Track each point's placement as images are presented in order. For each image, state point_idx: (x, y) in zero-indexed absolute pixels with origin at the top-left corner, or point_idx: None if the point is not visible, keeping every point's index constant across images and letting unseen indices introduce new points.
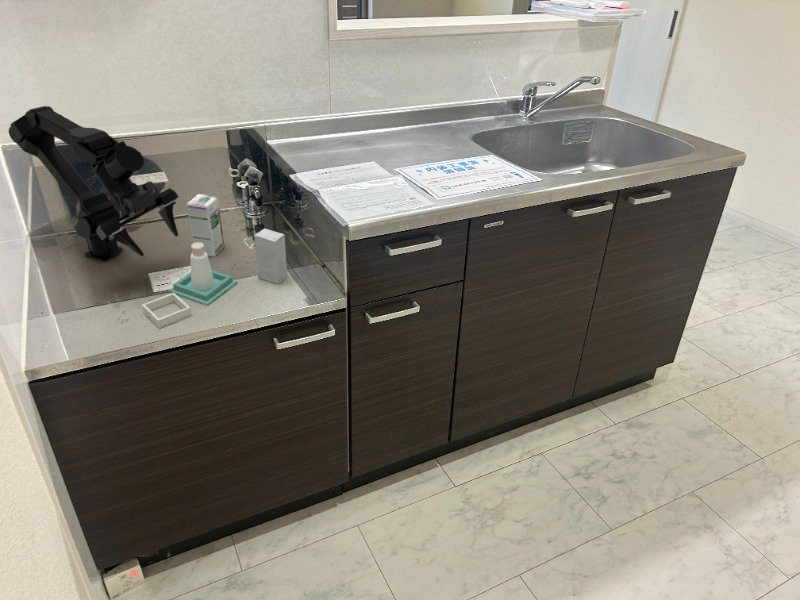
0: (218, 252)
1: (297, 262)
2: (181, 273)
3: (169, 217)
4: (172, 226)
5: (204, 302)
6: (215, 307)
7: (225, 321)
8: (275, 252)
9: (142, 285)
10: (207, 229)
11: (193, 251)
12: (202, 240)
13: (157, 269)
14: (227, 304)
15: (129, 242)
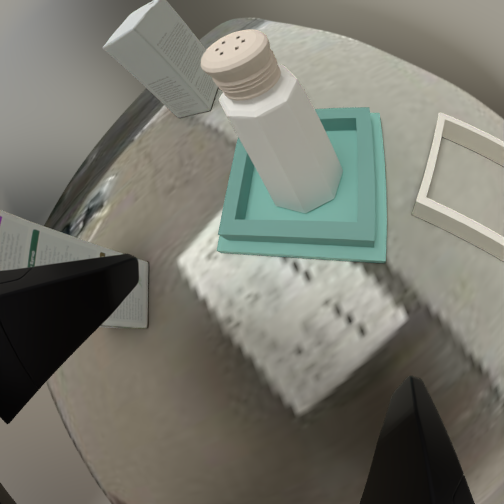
0: None
1: (145, 105)
2: (258, 303)
3: (6, 288)
4: (75, 273)
5: (379, 121)
6: (371, 101)
7: (398, 65)
8: (179, 16)
9: (383, 386)
10: (71, 249)
11: (272, 61)
12: None
13: (265, 399)
14: (343, 89)
15: (466, 500)
